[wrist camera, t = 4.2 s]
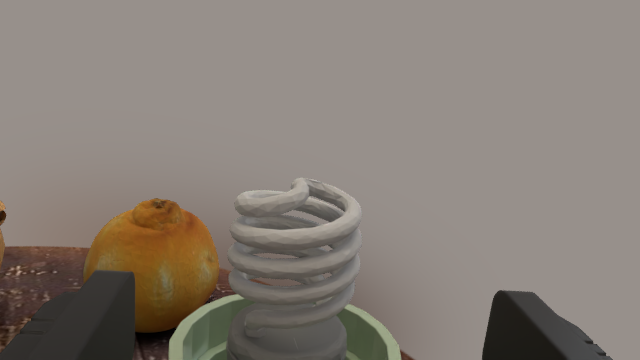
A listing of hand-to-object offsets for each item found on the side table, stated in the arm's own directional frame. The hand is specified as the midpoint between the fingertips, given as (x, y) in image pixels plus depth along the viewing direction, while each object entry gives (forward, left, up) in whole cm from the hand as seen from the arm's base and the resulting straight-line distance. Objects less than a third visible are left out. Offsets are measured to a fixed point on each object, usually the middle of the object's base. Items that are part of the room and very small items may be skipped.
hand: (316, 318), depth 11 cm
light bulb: (+4, -9, -12) cm, 16 cm away
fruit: (+16, -15, -12) cm, 26 cm away
